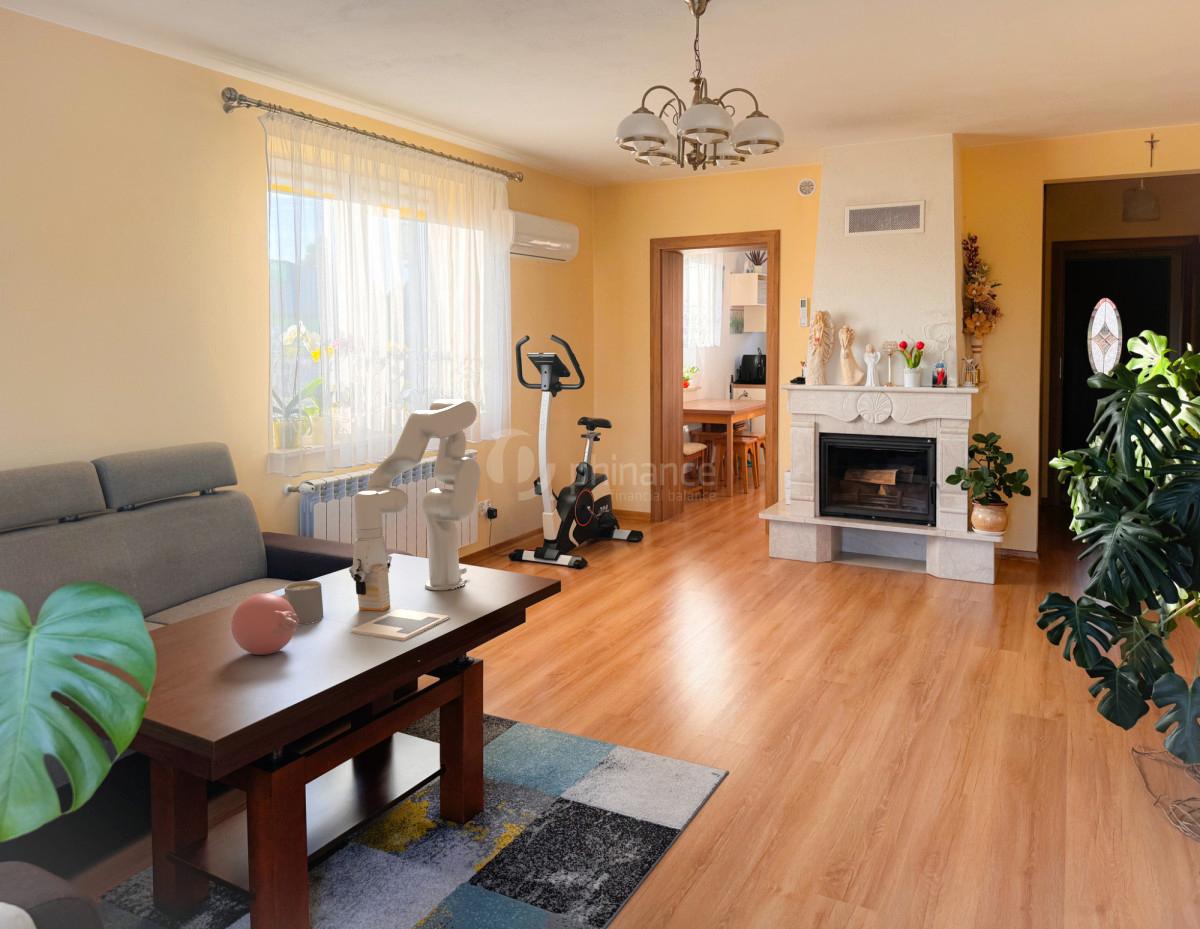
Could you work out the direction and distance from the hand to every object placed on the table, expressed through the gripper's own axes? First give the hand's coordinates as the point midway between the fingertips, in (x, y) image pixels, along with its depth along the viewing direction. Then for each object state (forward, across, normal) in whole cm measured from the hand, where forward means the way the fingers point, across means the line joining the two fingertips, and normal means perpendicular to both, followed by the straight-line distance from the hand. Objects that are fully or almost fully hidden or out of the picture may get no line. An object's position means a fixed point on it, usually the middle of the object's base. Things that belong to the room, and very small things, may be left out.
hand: (372, 590), depth 256 cm
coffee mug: (+6, +16, -13) cm, 22 cm away
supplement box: (+6, 0, 0) cm, 6 cm away
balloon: (+6, +40, +2) cm, 41 cm away
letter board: (+6, +10, +18) cm, 21 cm away
